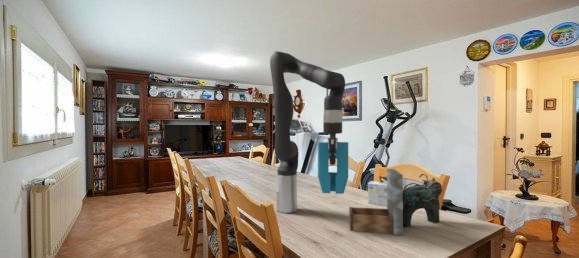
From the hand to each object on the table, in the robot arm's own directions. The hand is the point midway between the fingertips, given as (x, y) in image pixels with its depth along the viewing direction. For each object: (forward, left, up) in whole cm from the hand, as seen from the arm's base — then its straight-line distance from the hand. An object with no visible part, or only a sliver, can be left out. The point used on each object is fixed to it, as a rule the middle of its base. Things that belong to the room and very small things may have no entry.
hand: (332, 163), depth 108 cm
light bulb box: (+23, +34, -25) cm, 48 cm away
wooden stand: (+16, 0, -25) cm, 29 cm away
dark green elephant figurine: (+35, +7, -25) cm, 44 cm away
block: (0, 0, -12) cm, 12 cm away
